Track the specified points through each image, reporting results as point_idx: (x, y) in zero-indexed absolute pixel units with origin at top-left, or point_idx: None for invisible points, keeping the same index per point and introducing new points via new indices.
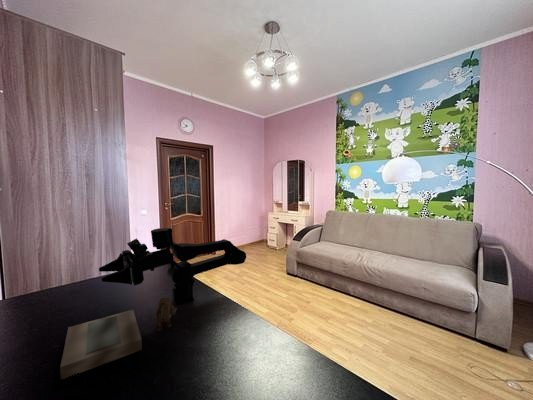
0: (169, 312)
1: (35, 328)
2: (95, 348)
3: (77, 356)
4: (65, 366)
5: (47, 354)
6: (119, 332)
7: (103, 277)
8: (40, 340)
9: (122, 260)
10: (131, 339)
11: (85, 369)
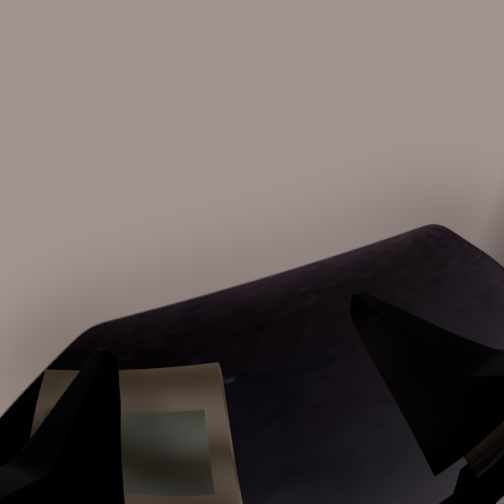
0: None
1: (315, 298)
2: None
3: (53, 394)
4: (44, 377)
5: (167, 354)
6: None
7: (95, 354)
8: (246, 325)
9: (489, 423)
10: None
11: None
